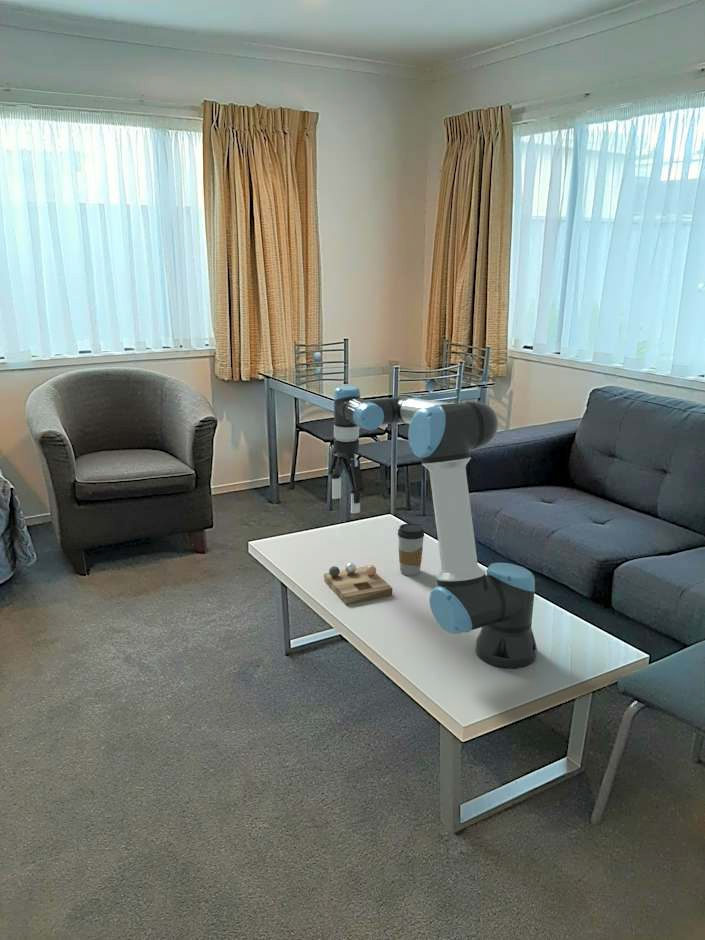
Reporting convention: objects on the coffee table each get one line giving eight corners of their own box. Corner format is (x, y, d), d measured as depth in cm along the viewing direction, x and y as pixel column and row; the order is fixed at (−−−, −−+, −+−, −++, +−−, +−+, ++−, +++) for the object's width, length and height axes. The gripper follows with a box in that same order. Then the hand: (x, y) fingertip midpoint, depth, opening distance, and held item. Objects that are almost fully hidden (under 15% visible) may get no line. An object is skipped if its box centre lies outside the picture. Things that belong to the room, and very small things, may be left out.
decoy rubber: (341, 577, 226) (341, 567, 225) (331, 579, 225) (331, 569, 224) (337, 573, 229) (337, 563, 228) (327, 575, 227) (327, 565, 226)
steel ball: (357, 574, 228) (357, 564, 227) (347, 576, 226) (347, 566, 225) (353, 570, 231) (353, 560, 230) (343, 572, 229) (343, 562, 228)
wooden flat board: (392, 595, 220) (392, 587, 219) (345, 604, 214) (345, 596, 213) (368, 573, 235) (368, 565, 234) (324, 581, 229) (324, 573, 228)
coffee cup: (413, 579, 230) (415, 534, 226) (391, 572, 235) (392, 528, 231) (428, 570, 237) (429, 526, 232) (406, 564, 242) (407, 520, 237)
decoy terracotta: (377, 576, 227) (378, 566, 226) (368, 578, 226) (368, 568, 225) (373, 572, 230) (373, 562, 229) (364, 574, 228) (364, 564, 227)
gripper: (376, 447, 213) (375, 517, 219) (340, 427, 234) (339, 491, 241) (353, 450, 210) (352, 520, 216) (318, 429, 231) (318, 494, 238)
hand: (345, 505), depth 229 cm, fingers open, 13 cm apart
